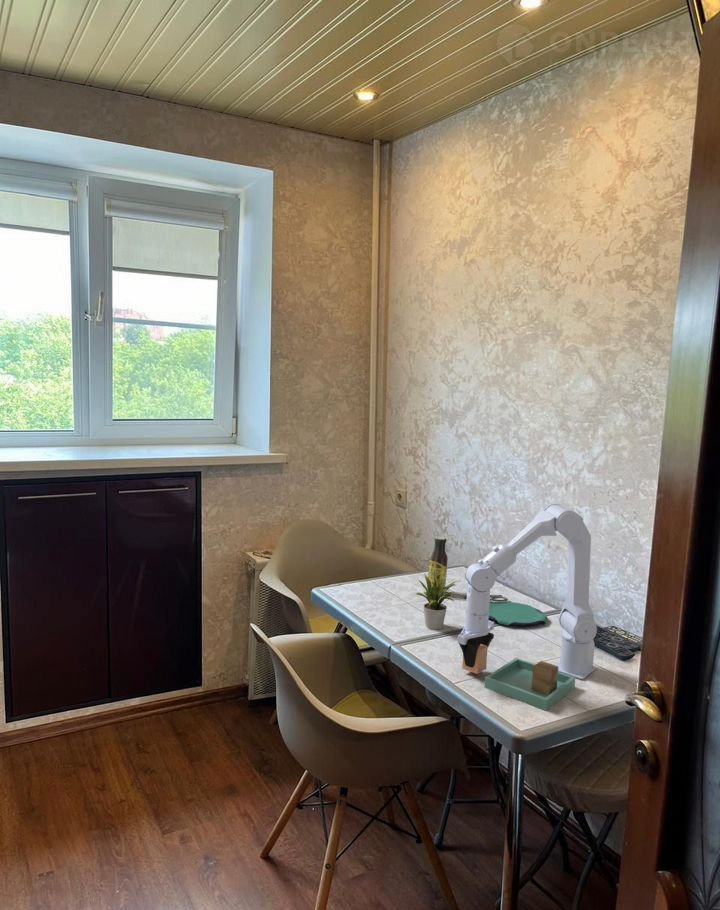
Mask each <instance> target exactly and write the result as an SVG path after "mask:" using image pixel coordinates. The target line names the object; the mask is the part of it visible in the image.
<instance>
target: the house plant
mask: <svg viewBox="0 0 720 910" xmlns="http://www.w3.org/2000/svg"><path fill="white" fill-rule="evenodd" d="M423 575H424V578H425V582H426V585H425V584H424V582H422V580H419V579H417V580H418V583H420V585H421V586H422V587H423V588H424V589H425V591H424V592H423V593H424V594H423V593H422V592H415V595H418V596H421V597H423V598H425V599H426V600H427V601H428V602H426V603H424V604H423V607H422V608H423V616H424V624H425V627H426V628H427V629H430V630H437V631H438V630H441V629H443V627H444V623H445V618H446V614H447V609H448V607H447V605H446V604H444V603H446V602H447V600H448V601H449V600H450V601H452V602H454V603H456V602H455V599H454V598H451V597H454V595H452V594H453V593H454V591H451V592H450V588H452V587H457V583H458V582H460V580H456V581H453V582H450V583H449V584H448V585H446V586H445V587H444V588H442V587H443V585H444V583H445V579H446V580H447V575H446V576H445V577H444V574H443V576H442V578H441V580H440V581H439V583H438V586H437V583H436V579H435V576H434V574H433V578H434V583H433V582H432V581H430V580H429V578H428V576H427V575H428V574H425V573H424V574H423ZM431 582H432V584H433V587H432V585H431ZM443 589H444V590H443ZM442 590H443V591H442ZM441 591H442V592H441ZM444 591H445V592H444ZM448 591H449V592H448ZM440 592H441V593H440ZM444 600H445V601H444Z"/></svg>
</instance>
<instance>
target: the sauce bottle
mask: <svg viewBox="0 0 720 910" xmlns="http://www.w3.org/2000/svg"><path fill="white" fill-rule="evenodd" d="M446 544H447V537H445V536H439V535H438V536H434V547H433V551H432V553H431V556H430V559H429V561H428V562H429V563H428V574H427V575H428V576H427V577H428V578H429V580H430V581H432V582H433V583H434V578H433V574H434V576H435V579H436V583H437V586H438V583H439V581H440V580H441V578H442V576H443V574H444V577H445V576H447V575H448V573H447V572H448V560H449V559H448V555H447V553H446ZM446 581H447V578H446V579H445V583H444V585H443V587H442V588H444V587H446V586H447V585H446V583H447V582H446ZM432 582H431V585H432V587H433V584H432ZM443 590H444V589H443ZM443 590H442V591H443ZM442 591H441V592H442ZM441 592H440V593H441ZM444 592H445V591H444Z"/></svg>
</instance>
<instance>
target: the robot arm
mask: <svg viewBox="0 0 720 910" xmlns="http://www.w3.org/2000/svg"><path fill="white" fill-rule="evenodd" d="M557 532H558V533H559V534H560V535H561V536H562V537H563V538H565V539H566V540H567V541H568V550H567V553H568V554H567V558H568V559H567V581H566V600H565V601H564V602H563V603H562V609H561V611H560V613H559V616H558V623H559V625H560V627H561V629H562V630H561V631H562V632H561V642H560V653H559V663H558V664H556V666H558V672H560V673H563V674H566V675H569V676H572V677H575V679H580V680H584V679H586V678H587V677H589V675H590V674H591V673H592V672H594V671H595V670H596V669H597V666H596V665H594V658H595V657H594V655H595V645H596V644H595V641H594V638H596V635H597V633H598V628H597V625H596V623H595V617H594V616H595V615H594V612H593V610H592V607H591V605H590V600H589V599H590V578H591V577H590V576H591V575H590V574H591V573H590V572H591V571H590V570H591V549H592V548H591V547H592V546H591V545H592V543H591V541H592V537H591V536H592V535H591V533H590V531H589V529H588V527H587V525H586V524H585V522H584V518H583V517H582V516H581V515H579V514H578V513H577V512H575V511H573V510H570V509H567V508H565V507H564V506H562V505H561V504H558V503H551V504H548V505H547V506H545V507H544V509H542V510H540V511H539V512H538V513H537V514H536V515H535V517H534V518H533V520H531V522H530V523H528V524H527V526H525V527H524V528H523V529H522V530H521V531H520V532H519V533H518V534H517V535H515V537H514V538H512V539H511V540H510V541H509V542H508V543H505V544H502V543H499V545H494V546H492V548H491V551H490V552H489V553H488V554H487V555H486V556H484V557H483V558H482V559H481V558H480V559H479V560H477V562H475V563H472V564H470V565H469V566H468V567H467V569H466V570H467V571H465V572H464V579H465V581H467V582H468V583H467V591H466V595H467V598H466V605H465V606H466V607H465V622H464V623H463V624H461V626H460V627H461V629H462V630H461V632H460V633H459V634H458V635H457V643H458V645H459V647H460V649H461V652H462V657H463V656H464V661H465V665H466V666H468V667H471V668H473V667H474V664H475V659H476V654H477V650H478V648H479V646H480V644H483V645H486V646H488V647H487V650H488V649H489V647H490V644H491V642H492V641H493V639H494V638H495V637H494V636H495V635H494V633H492V632H490V631H493V630H494V629H495V621H491V620H489V619H490V618H489V603H490V601H491V600H490V599H491V598H490V595H491V594H490V593H491V589H492V588H494V585H495V584H496V583H495V582H496V579H498V577H500V576H501V575H502V574H503V573H504V572H505V571H506V570H508V569H509V568H510V567H511V566H513V565H514V564H515V563H516V561H517V555H518V554H520V553H521V552H522V551H523V550H525V549H526V548H527V547H529V546H530V545H531V544H533V543H535V542H536V541H537V540H539V539H540V538H541V537H546V536H547V537H549V536H550V537H551V536H552V537H557V535H558V534H557Z"/></svg>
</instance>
